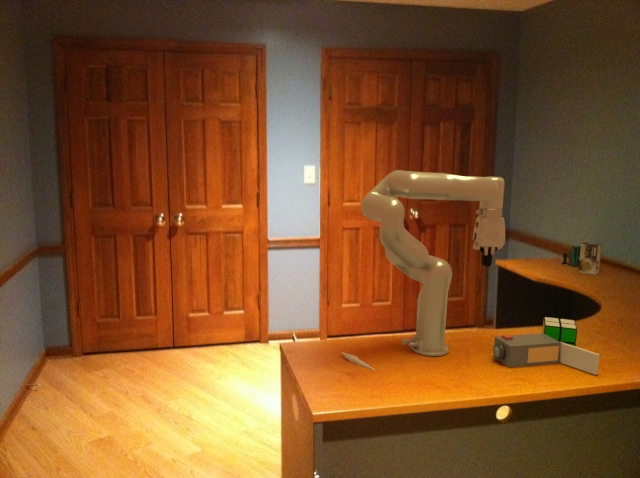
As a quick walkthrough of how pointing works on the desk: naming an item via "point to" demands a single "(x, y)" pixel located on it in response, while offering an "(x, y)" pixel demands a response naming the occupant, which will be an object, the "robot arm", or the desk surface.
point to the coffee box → (590, 258)
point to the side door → (579, 358)
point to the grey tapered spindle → (356, 360)
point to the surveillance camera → (573, 256)
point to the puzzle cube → (560, 330)
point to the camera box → (526, 350)
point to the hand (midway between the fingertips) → (486, 265)
